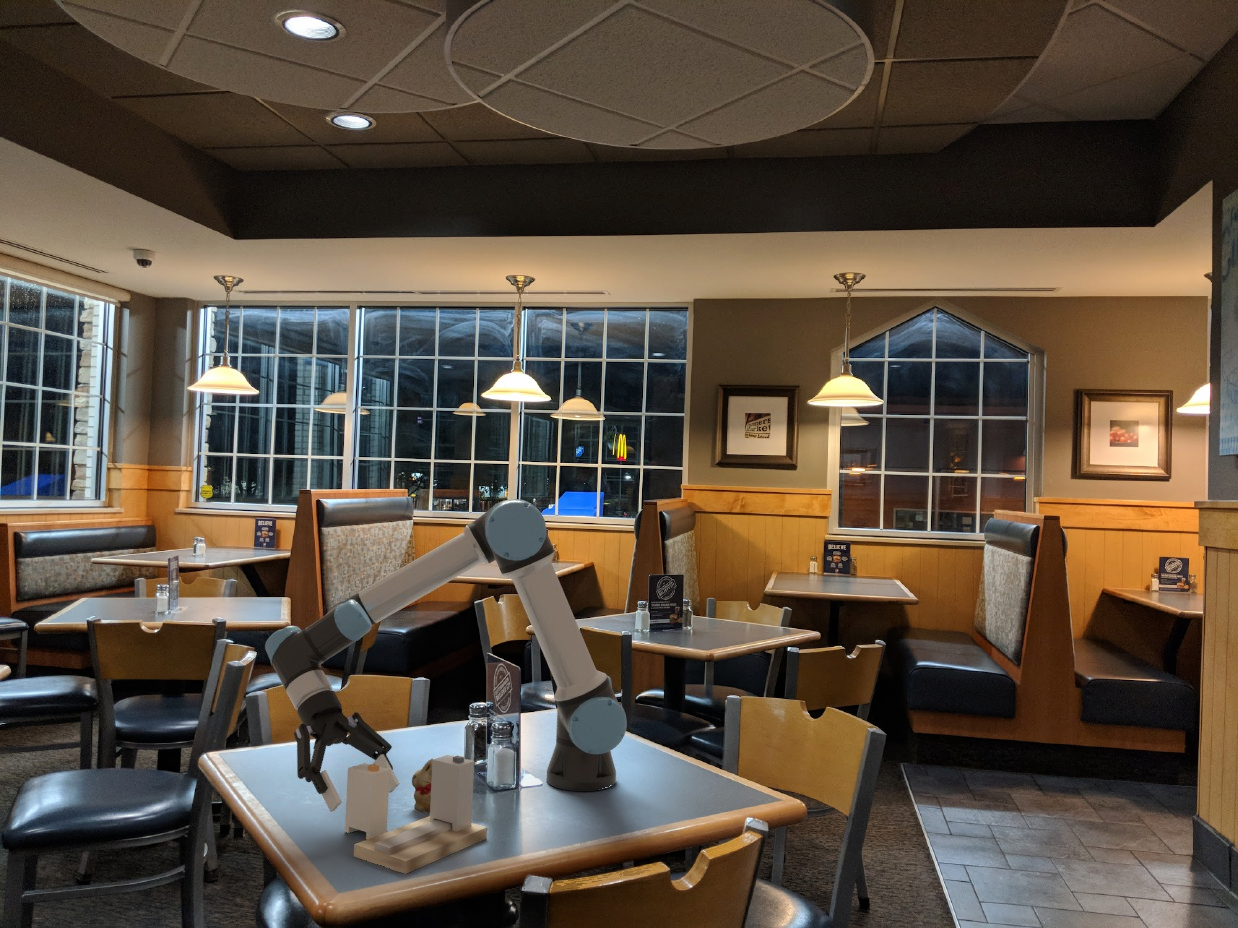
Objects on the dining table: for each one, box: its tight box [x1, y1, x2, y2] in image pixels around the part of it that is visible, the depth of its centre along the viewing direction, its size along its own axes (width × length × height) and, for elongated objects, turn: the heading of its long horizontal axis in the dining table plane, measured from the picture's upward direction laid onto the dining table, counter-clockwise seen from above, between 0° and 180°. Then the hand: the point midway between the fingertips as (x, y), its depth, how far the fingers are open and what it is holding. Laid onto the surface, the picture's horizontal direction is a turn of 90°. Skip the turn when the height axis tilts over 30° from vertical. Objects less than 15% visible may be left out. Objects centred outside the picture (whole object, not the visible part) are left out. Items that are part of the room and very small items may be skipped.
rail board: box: [353, 815, 488, 875], centre depth 161 cm, size 20×12×3 cm, turn 148°
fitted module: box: [429, 754, 475, 831], centre depth 167 cm, size 6×4×12 cm, turn 58°
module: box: [344, 762, 390, 840], centre depth 167 cm, size 6×4×12 cm, turn 58°
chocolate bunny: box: [411, 758, 434, 814], centre depth 181 cm, size 6×8×10 cm
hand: (366, 797), depth 167 cm, fingers open, 13 cm apart
